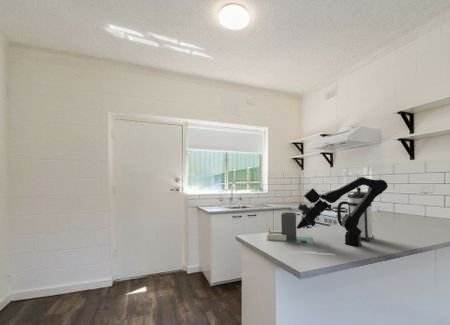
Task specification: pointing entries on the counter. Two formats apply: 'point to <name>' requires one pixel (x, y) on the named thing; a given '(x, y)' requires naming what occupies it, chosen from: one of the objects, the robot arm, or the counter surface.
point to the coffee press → (366, 217)
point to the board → (282, 238)
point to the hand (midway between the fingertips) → (297, 228)
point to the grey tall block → (288, 225)
